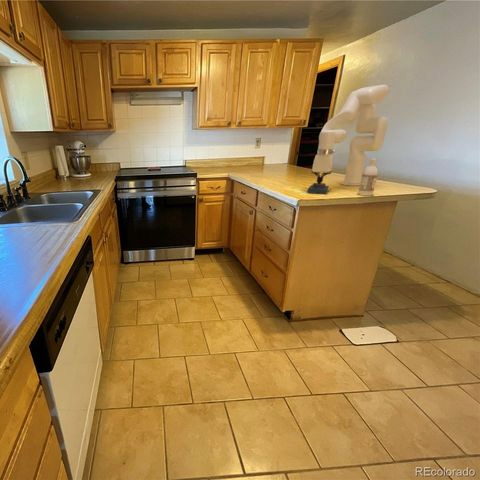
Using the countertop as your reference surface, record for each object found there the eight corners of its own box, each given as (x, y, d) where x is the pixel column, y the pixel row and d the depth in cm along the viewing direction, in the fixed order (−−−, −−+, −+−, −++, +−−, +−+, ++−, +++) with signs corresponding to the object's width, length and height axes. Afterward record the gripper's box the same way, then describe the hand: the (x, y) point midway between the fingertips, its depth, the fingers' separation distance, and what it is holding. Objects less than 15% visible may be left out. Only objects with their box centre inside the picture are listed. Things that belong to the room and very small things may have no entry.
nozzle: (315, 185, 168) (316, 182, 168) (322, 186, 166) (323, 183, 166) (314, 187, 165) (315, 183, 165) (322, 187, 163) (322, 184, 163)
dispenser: (310, 189, 175) (311, 181, 173) (328, 190, 169) (329, 182, 167) (307, 193, 165) (308, 185, 163) (326, 194, 159) (327, 186, 158)
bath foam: (369, 196, 150) (378, 159, 143) (355, 194, 156) (363, 159, 148) (374, 194, 154) (383, 158, 146) (360, 192, 159) (369, 158, 152)
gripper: (339, 152, 157) (333, 183, 164) (311, 152, 165) (306, 181, 172) (339, 152, 152) (332, 185, 158) (309, 153, 160) (304, 183, 166)
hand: (319, 183), depth 165 cm, fingers closed
